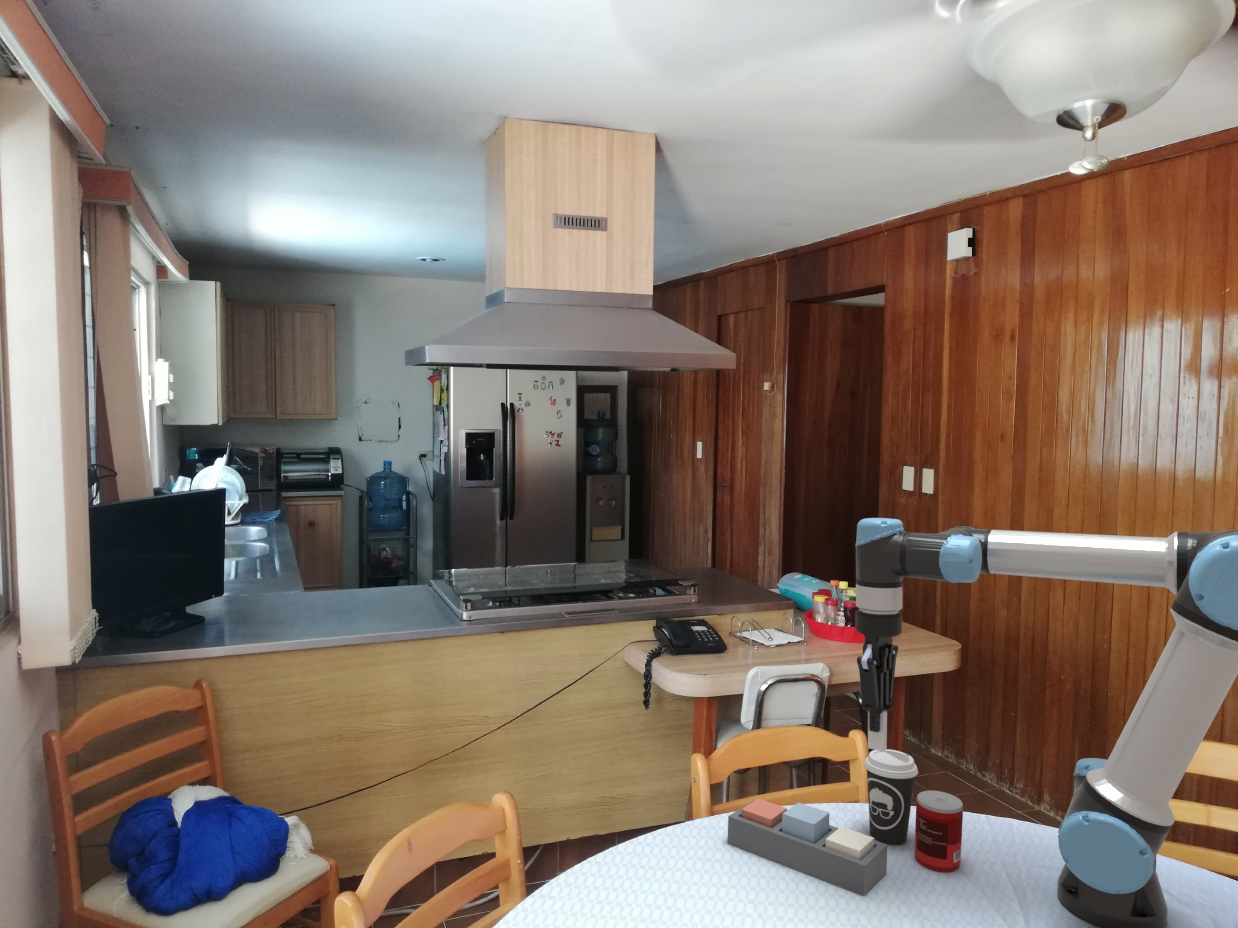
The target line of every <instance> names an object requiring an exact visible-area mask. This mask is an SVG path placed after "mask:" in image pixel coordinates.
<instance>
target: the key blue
mask: <svg viewBox="0 0 1238 928" xmlns="http://www.w3.org/2000/svg"><path fill="white" fill-rule="evenodd" d="M829 825H830V812H828V811H826V810H822V809H819V808H817V807H813V806H810V805H807V804H804V803H801V802H797V803H796V804H794V805H793V806H791V807H790V808H789V809H788V808H787V811H786V812H784V813H783V814H782V832H783V833H786V834H789V835H792V836H794V837H797V838H800V839H803V840H805V841H808V842H811V843H814V844H815V843H817V842H818V841H819V840H820V839H822V838H823V837H824V836H825V835H826V834H828V833H829Z"/></svg>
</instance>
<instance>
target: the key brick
mask: <svg viewBox="0 0 1238 928" xmlns="http://www.w3.org/2000/svg"><path fill="white" fill-rule="evenodd" d="M754 800H755V801H754V802H752V801H751V802H752V803H751V804H749V805H747V804H746V805H747V806H746V807H744V806H743V807H744V808H743V809H742V812H741V817H742V818H744V819H747V820H750V821H753V822H755V823H758V824H761V825H764V826H767V827H769V828H773V827H775V826H776V825H777V824H779V823H780V822H782V814H783V813H784V812H786V811H787V810H788V808H787V807H784V806H781V805H779V804H776V803H772V802H769V801H767V800H764V799H761V798H757V799H754Z"/></svg>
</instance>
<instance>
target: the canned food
mask: <svg viewBox="0 0 1238 928" xmlns="http://www.w3.org/2000/svg"><path fill="white" fill-rule="evenodd" d="M963 806H964V804H963V801H962V800H961V799H960V798H959V797H957V796H955V795H953V794H951V793H947V792H944V791H940V790H939V791H938V790H923V791H920V792H919V793H918V794H917V796H916V805H915V807H916V808H915V824H914V825H915V827H914V828H915V829H914V831H915V833H914V855H915V859H916V861H917V862H918V863H919V864H920V865H921V866H923V867H924V868H927V869H929V870H932V871H936V872H942V873H943V872H944V873H946V872H953V871H956V870H958V868H959V867H960V864H961V860H962V857H961V856H962V840H963V839H962V837H963V818H964V817H963V816H964V807H963Z"/></svg>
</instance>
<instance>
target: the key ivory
mask: <svg viewBox="0 0 1238 928" xmlns="http://www.w3.org/2000/svg"><path fill="white" fill-rule="evenodd" d="M838 828H839V829H837V830H836V831H835V832H834V833H832V834H831V835H830V836H829V837H827V838H826V845H825V848H828V849H830V850H833V851H836V852H839V853H842V854H844V855H847V856H850V857H853V858H855V859H858V860H862V859H863V858H864V857H865V856H866V855H868V854H869V853H870V852H871V851H872V850H873V849H874V840H875V839H874V838H873V837H871V835H867V834H864V833H861V832H858V831H855V830H853V829H848V828H846V827H843V826H839V827H838Z"/></svg>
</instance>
